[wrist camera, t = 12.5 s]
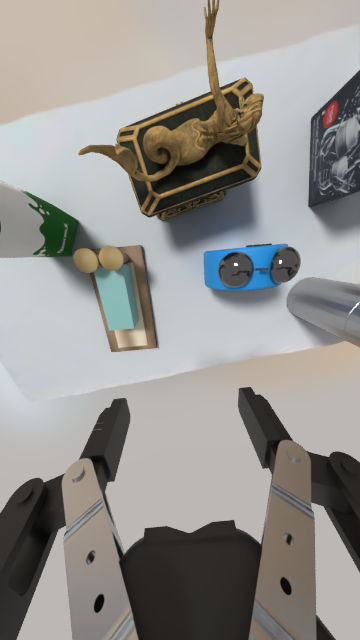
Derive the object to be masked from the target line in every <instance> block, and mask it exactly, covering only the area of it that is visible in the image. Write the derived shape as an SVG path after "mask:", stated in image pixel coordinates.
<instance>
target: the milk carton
mask: <svg viewBox="0 0 360 640" xmlns="http://www.w3.org/2000/svg"><path fill="white" fill-rule="evenodd" d="M77 223H78V220H76V219H75V218H73V217H72V216H70V215H68V214H67V213H65V212H63V211H62V210H60V209H59V208H57V207H55V206H53V205H52V204H50V203H48V202H46V201H44V200H42V199H40V198H38V197H36V196H34V195H32V194H30V193H28V192H26V191H23V190H21V189H19V188H16V187H14V186H12V185H9V184H7V183H5V182H2V181H0V258H17V257H60V256H71V253H72V248H73V243H74V238H75V233H76V228H77Z"/></svg>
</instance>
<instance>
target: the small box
mask: <svg viewBox="0 0 360 640" xmlns="http://www.w3.org/2000/svg"><path fill="white" fill-rule="evenodd" d="M359 191H360V70H359V71H358V72H357V73H356V74H355V75H354V76H353V77H352V78H351V79H350V80H349V81H348V82H347V83H346V84H345V85H344V86H343V87H342V88H341V89H340V90H339V91H338V92H337V93H336V94H335V95H334V96H333V97H332V98H331V99H330V100H329V101H328V102H327V103H326V104H325V105H324V106H323V107H322V108H321V109H320V110H319V111H318V112H317V113H316V114H315V115H314V116H313V117H312V120H311V147H310V177H309V207H311V206H314V205H318V204H321V203H325V202H328V201H332V200H335V199H338V198H342V197H345V196H347V195H350V194H353V193H356V192H359Z"/></svg>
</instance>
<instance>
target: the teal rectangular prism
mask: <svg viewBox="0 0 360 640" xmlns="http://www.w3.org/2000/svg"><path fill="white" fill-rule="evenodd" d="M94 274H95V278H96V282H97V286H98V290H99V294H100V297H101V301H102V305H103V309H104V313H105V317H106V320H107V324H108V328H109V331H111V330H122V329H133V328H135V326H136V324H137V322H138V321H139V316H138V311H137V305H136V300H135V294H134V289H133V284H132V278H131V273H130V267H129V264H123V266H122V267H121V268H120V269H118V270H114V271H111V270H107V269H106V268H104V267H103V266H101V267H98V269H97V270H96V271H94Z"/></svg>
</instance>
